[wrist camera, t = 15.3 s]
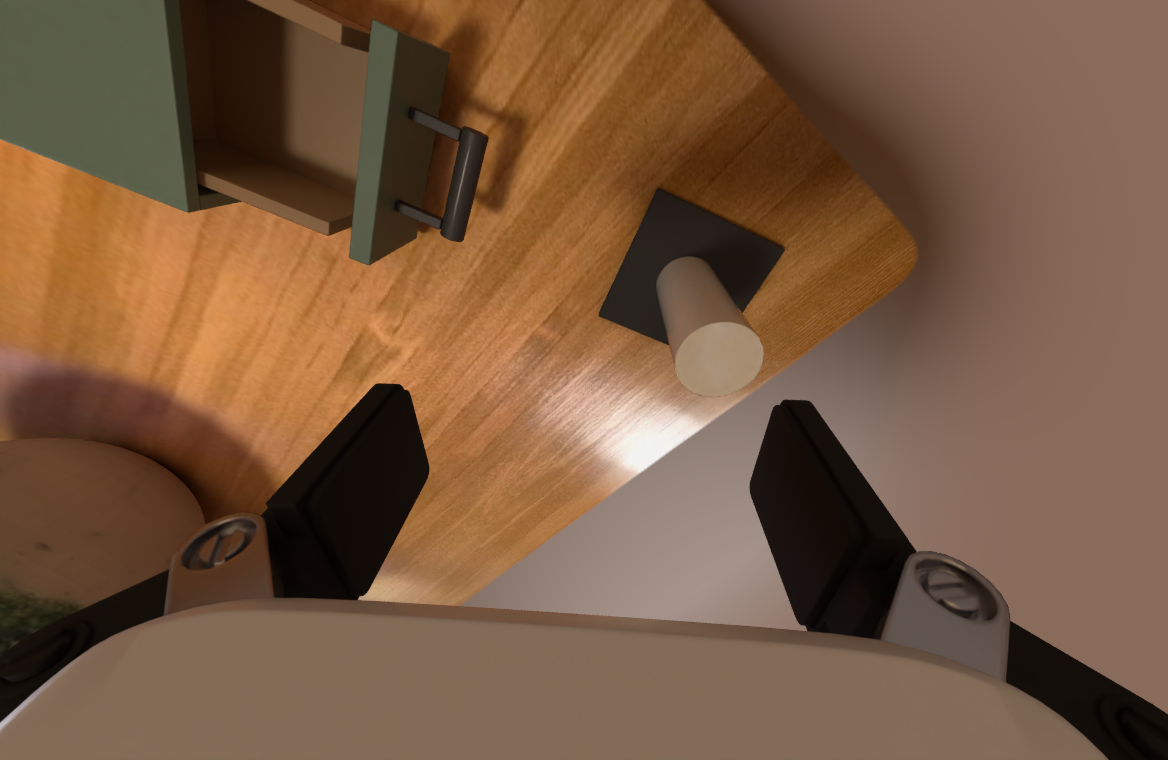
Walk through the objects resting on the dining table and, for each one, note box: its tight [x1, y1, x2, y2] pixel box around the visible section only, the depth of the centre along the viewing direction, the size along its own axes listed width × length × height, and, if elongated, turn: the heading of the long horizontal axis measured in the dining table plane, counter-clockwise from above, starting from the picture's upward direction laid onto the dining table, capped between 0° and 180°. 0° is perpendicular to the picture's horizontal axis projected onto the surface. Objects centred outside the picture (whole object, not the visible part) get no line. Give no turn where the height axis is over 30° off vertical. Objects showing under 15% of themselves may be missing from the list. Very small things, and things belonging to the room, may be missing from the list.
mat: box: [599, 188, 785, 345], centre depth 31 cm, size 10×10×1 cm
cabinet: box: [0, 0, 242, 213], centre depth 21 cm, size 15×13×9 cm
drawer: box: [179, 0, 488, 265], centre depth 23 cm, size 18×11×7 cm, turn 67°
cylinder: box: [656, 256, 764, 397], centre depth 26 cm, size 4×4×12 cm
